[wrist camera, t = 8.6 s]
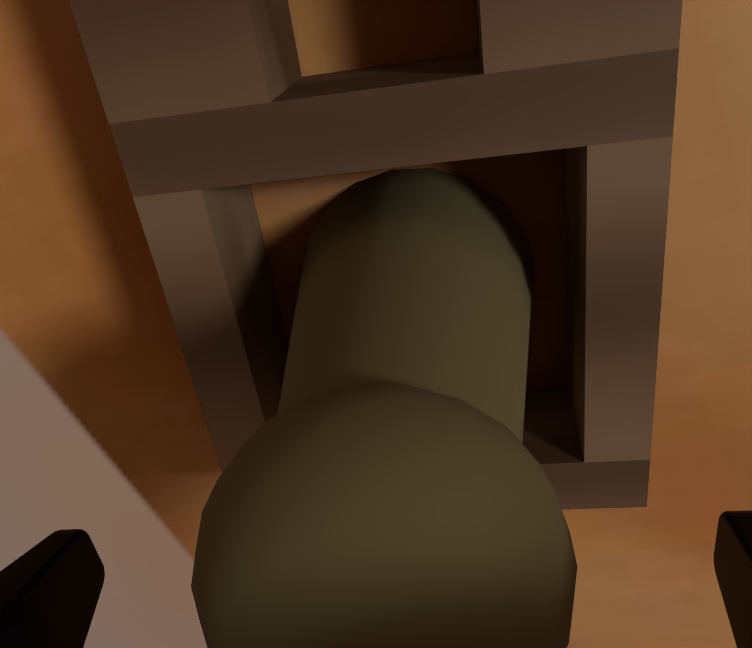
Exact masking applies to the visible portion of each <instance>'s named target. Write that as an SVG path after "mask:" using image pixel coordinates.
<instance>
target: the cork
mask: <svg viewBox="0 0 752 648" xmlns="http://www.w3.org/2000/svg"><path fill="white" fill-rule="evenodd" d="M532 280H533V260H532V257H531V253H530V250H529V247H528V244H527V241H526V237H525V234H524V231H523V229H522V227H521V226H520V225H519V223H518V222H517V221H516V219H515V218H514V217H513V216H512V214H511V213H510V212H509V210H508V209H507V208H506V206H505V205H504V204H503V202H502V201H501V200H500V199H498V198H497V197H495V196H494V195H492V194H491V193H489V192H488V191H486V190H485V189H483V188H482V187H480V186H479V185H477V184H476V183H474V182H473V181H471V180H470V179H467V178H464V177H460V176H457V175H453V174H450V173H446V172H443V171H439V170H435V169H432V168H427V169H400V170H390V171H387V172H384V173H382V174H379V175H376V176H374V177H371V178H368V179H365V180H363V181H360V182H357V183H355V184H354V185H353V186H352V187H350V188H349V189H348V190H347V191H345V192H344V193H343V194H342V195H340V196H339V197H338V198H337V199H335V200H334V201H333V202H332V203H330V204H329V205H328V206H327V207H326V209H325V211H324V212H323V214H322V215H321V217H320V219H319V220H318V222H317V223H316V225H315V227H314V228H313V230H312V231H311V233H310V235H309V239H308V243H307V248H306V253H305V257H304V262H303V267H302V273H301V278H300V284H299V290H298V296H297V302H296V308H295V314H294V320H293V326H292V332H291V338H290V343H289V349H288V355H287V361H286V367H285V373H284V379H283V385H282V391H281V397H280V402H279V408H278V414H277V415H275V416H274V417H272V418H271V419H269V420H267V421H266V422H264V423H263V424H262V425H261V426H260V427H259V428H258V429H257V430H256V431H255V432H254V433H253V434H252V435H251V436H250V437H249V438H248V439H247V440H246V441H245V443H244V444H243V445H242V446H241V447H240V449H239V450H238V452H237V453H236V454H235V456H234V457H233V459H232V460H231V462H230V463H229V465H228V466H227V467H226V469H225V470H224V472H223V473H222V475H221V476H220V477H219V479H218V480H217V482H216V484H215V486H214V488H213V490H212V492H211V494H210V497H209V499H208V501H207V503H206V505H205V507H204V509H203V511H202V516H201V522H200V528H199V534H198V540H197V546H196V553H195V560H194V568H193V576H192V584H191V588H192V592H193V596H194V600H195V604H196V608H197V612H198V616H199V620H200V623H201V626H202V630H203V634H204V637H205V640H206V644H207V647H208V648H566V647H567V646H568V644H569V636H570V628H571V619H572V610H573V601H574V592H575V582H576V573H577V563H576V559H575V554H574V550H573V545H572V541H571V536H570V532H569V529H568V526H567V523H566V520H565V518H564V515H563V512H562V509H561V506H560V503H559V501H558V498H557V495H556V492H555V489H554V487H553V486H552V484H551V482H550V481H549V479H548V477H547V476H546V474H545V472H544V471H543V469H542V467H541V465H540V464H539V462H538V461H537V460H536V459H535V458H534V456H533V455H532V454H531V453H530V452H529V451H528V450H527V449H526V447H525V446H524V445H523V444H522V442H523V426H524V410H525V394H526V378H527V362H528V346H529V330H530V314H531V299H532Z"/></svg>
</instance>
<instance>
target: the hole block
mask: <svg viewBox="0 0 752 648" xmlns="http://www.w3.org/2000/svg"><path fill="white" fill-rule="evenodd" d="M68 1H69V4H70V7H71V10H72V13H73V16H74V19H75V22H76V25H77V28H78V32H79V35H80V38H81V41H82V44H83V47H84V50H85V53H86V56H87V59H88V62H89V65H90V68H91V71H92V74H93V77H94V80H95V83H96V87H97V90H98V93H99V96H100V99H101V102H102V105H103V108H104V111H105V114H106V117H107V120H108V123H109V126H110V129H111V132H112V135H113V139H114V142H115V145H116V148H117V151H118V154H119V157H120V160H121V163H122V166H123V169H124V172H125V175H126V178H127V181H128V184H129V187H130V190H131V194H132V197H133V200H134V203H135V206H136V209H137V212H138V215H139V218H140V221H141V224H142V227H143V230H144V233H145V236H146V239H147V242H148V245H149V249H150V252H151V255H152V258H153V261H154V264H155V267H156V270H157V273H158V276H159V279H160V282H161V285H162V288H163V291H164V294H165V297H166V301H167V304H168V307H169V310H170V313H171V316H172V319H173V322H174V325H175V328H176V331H177V334H178V337H179V340H180V343H181V346H182V349H183V352H184V356H185V359H186V362H187V365H188V368H189V371H190V374H191V377H192V380H193V383H194V386H195V389H196V392H197V395H198V398H199V401H200V404H201V408H202V411H203V414H204V417H205V420H206V423H207V426H208V429H209V432H210V435H211V438H212V441H213V444H214V447H215V450H216V453H217V456H218V459H219V463H220V466H221V469H222V472H224V470H225V469H226V467H227V466H228V465H229V463H230V462H231V460H232V459H233V457H234V456H235V454H236V453H237V452H238V450H239V449H240V447H241V446H242V445H243V444H244V443H245V441H246V440H247V439H248V438H249V437H250V436H251V435H252V434H253V433H254V432H255V431H256V430H257V429H258V428H259V427H260V426H261V425H262V424H263V423H264V422H266V421H267V420H269V419H271V418H272V417H274V416H275V415H277V414H278V408H279V402H280V397H281V391H282V385H283V379H284V373H285V367H286V361H287V355H288V349H289V347H288V343H287V338H286V334H285V330H284V326H283V322H282V317H281V313H280V309H279V305H278V301H277V296H276V292H275V288H274V284H273V280H272V275H271V271H270V267H269V263H268V259H267V254H266V250H265V246H264V242H263V238H262V233H261V229H260V225H259V221H258V217H257V212H256V208H255V204H254V200H253V196H252V191H251V187H250V184H255V183H264V182H273V181H281V180H290V179H299V178H308V177H317V176H326V175H335V174H343V173H352V172H361V171H370V170H379V169H388V168H397V167H405V166H414V165H423V164H432V163H441V162H450V161H459V160H468V159H476V158H485V157H494V156H503V155H512V154H521V153H530V152H538V151H547V150H556V149H564V198H565V345H566V391H550V392H533V393H526V394H525V410H524V426H523V442H522V444H523V445H524V446H525V447H526V449H527V450H528V451H529V452H530V453H531V454H532V455H533V456H534V458H535V459H536V460H537V461H538V462H539V464H540V465H541V467H542V469H543V471H544V472H545V474H546V476H547V477H548V479H549V481H550V482H551V484H552V486H553V487H554V489H555V492H556V495H557V498H558V501H559V503H560V506H561V509H589V508H623V507H647V495H648V481H649V467H650V452H651V438H652V424H653V410H654V396H655V381H656V367H657V353H658V339H659V324H660V310H661V296H662V282H663V267H664V253H665V239H666V225H667V211H668V196H669V182H670V168H671V154H672V139H673V125H674V111H675V97H676V82H677V68H678V54H679V40H680V26H681V11H682V0H475V3H476V19H477V35H478V50H479V53H472V54H465V55H457V56H450V57H443V58H436V59H428V60H421V61H414V62H407V63H399V64H392V65H385V66H377V67H370V68H363V69H356V70H348V71H341V72H334V73H327V74H319V75H312V76H305V77H302V76H301V71H300V65H299V60H298V55H297V49H296V44H295V38H294V33H293V28H292V22H291V17H290V11H289V6H288V1H287V0H68Z"/></svg>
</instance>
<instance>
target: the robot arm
mask: <svg viewBox="0 0 752 648" xmlns="http://www.w3.org/2000/svg"><path fill="white" fill-rule="evenodd" d="M714 567H715V573H716V576H717V580H718V583H719V587H720V590H721V594H722V597H723V601H724V604H725V607H726V611H727V614H728V618H729V621H730V625H731V628H732V632H733V635H734V639H735V642H736V645H737V648H752V511H726V512H723V513H722V514H721V515H720V517H719V521H718V528H717V535H716V542H715V549H714ZM104 576H105V574H104V566H103V563H102V561H101V559H100V557H99V555H98V553H97V551H96V549H95V547H94V545H93V543H92V541H91V539H90V537H89V535H88V534H87V533H86V532H85V531H84V530H81V529H72V530H58V531H55V532H54V533H52V534H51V535H49V536H48V537H47V538H45V539H44V540H42V541H41V542H40V543H38V544H37V545H36V546H34V547H33V548H32V549H30V550H29V551H28V552H26V553H25V554H24V555H22V556H21V557H19V558H18V559H17V560H15V561H14V562H13V563H11V564H10V565H9V566H7V567H6V568H4V569H3V570H2V571H0V648H83V647H84V644H85V640H86V637H87V634H88V631H89V628H90V625H91V621H92V618H93V615H94V612H95V609H96V605H97V602H98V599H99V596H100V593H101V589H102V586H103V583H104Z"/></svg>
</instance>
